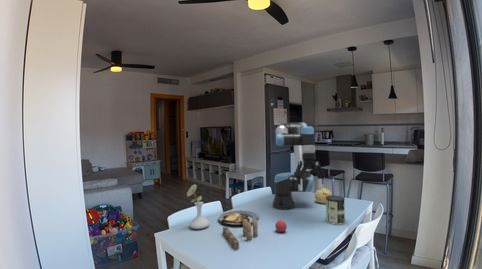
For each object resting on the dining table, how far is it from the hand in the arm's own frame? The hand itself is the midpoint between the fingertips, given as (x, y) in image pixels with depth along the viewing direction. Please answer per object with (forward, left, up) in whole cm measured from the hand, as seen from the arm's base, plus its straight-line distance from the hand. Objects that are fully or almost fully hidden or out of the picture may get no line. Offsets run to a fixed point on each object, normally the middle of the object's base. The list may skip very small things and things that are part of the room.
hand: (310, 190), depth 144 cm
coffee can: (+1, +16, -20) cm, 26 cm away
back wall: (+1, -49, -20) cm, 52 cm away
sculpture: (-33, +34, -20) cm, 51 cm away
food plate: (-25, -35, -20) cm, 47 cm away
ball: (+1, -20, -17) cm, 26 cm away
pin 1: (-1, -40, -20) cm, 44 cm away
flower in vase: (-23, -60, -20) cm, 67 cm away
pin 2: (+4, -40, -20) cm, 44 cm away
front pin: (+1, -35, -20) cm, 40 cm away
